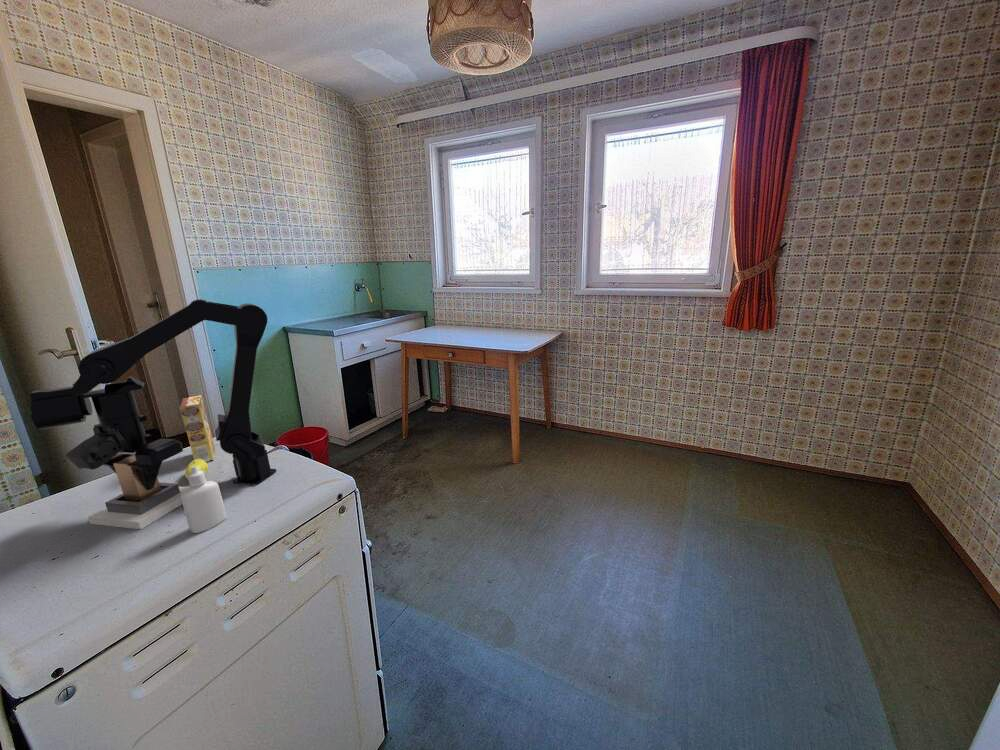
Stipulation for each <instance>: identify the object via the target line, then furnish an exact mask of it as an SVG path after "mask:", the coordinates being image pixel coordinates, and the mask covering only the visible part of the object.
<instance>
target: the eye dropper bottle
mask: <svg viewBox="0 0 1000 750" xmlns="http://www.w3.org/2000/svg"><path fill="white" fill-rule="evenodd" d="M187 477H188V479H187V481H188V483H189V486H188V487H189V488H188V489H186V490H185V491H184V492H183V493H182V495H181V499H182V503H183V504H182V505H183V506H182V507H183V510H184V514H185V517H186V521H187V524H188V529H189V531H191V532H192V533H193V534H199V533H203V532H205V531H208V530H210V529H212V528H214V527H216V526H218V525H220V524H221V523H223V522H224V521H225V520H226V519H227V513H226V509H225V505H224V501H223V497H222V494H221V490H220V486H219V483H217V482H216V481H214V480H207V479H206V476H205V474H204V471H199V470H198V469H197V467H196V466H193V467H191V473H190V474H189V475H188V476H187Z"/></svg>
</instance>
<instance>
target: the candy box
mask: <svg viewBox="0 0 1000 750" xmlns="http://www.w3.org/2000/svg"><path fill="white" fill-rule="evenodd" d="M179 411H180V413H181V418H182V421H183V426H184V428H185V431H186V435H187V439H188V442H189V445H190V449H191V453H192V456H193V460H195V459H202V460H204V461H209V462H211V461H210V460H213V461H214V460H215V456H214V455H215V452H216V447H215V443H214V440H213V436H212V432H211V428H210V424H209V420H208V417H207V412H206V409H205V405H204V401H203V397H202V395H195V396H189V397H183V398H182V401H181V403H180V406H179Z"/></svg>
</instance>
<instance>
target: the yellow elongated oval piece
mask: <svg viewBox="0 0 1000 750" xmlns="http://www.w3.org/2000/svg"><path fill="white" fill-rule="evenodd" d="M193 466H196V467H197V469H198V470H199V471H204V475H205V474H206V473H207V472H208V470H209V465H208V462H205V461H204V460H202V459H195V460H194V459H193V460H192V461H191V462H189V464H188V465H187V467H186V469H185V473H184V476H185V478H186V479H187V480H188V477H187V476H188V475H189V474H190V473H191V467H193Z"/></svg>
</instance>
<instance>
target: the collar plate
mask: <svg viewBox="0 0 1000 750" xmlns="http://www.w3.org/2000/svg"><path fill="white" fill-rule="evenodd" d="M159 484H160V487H161V491H159V492H158V493H156V494H154V495H152V496H150V497H148V498H147V499H145V500H143V501H141V502H129V501H125V498H124V495H123V493H121V494H119V495H117V496H115V497H113V498H111V499H110V500H108V501H105V502H104V504H105V507H104V508H103V509H101V510H99V511H98V512H94V514H91V515H89V516H88V520H89V524H90V525H97V526H99V525H100V526H108V527H118V528H119V527H120V528H125V529H127V528H128V529H133V530H135V529H136V530H142V529H144V528H145V527H147V526H148V525H150V524H152V523H154V522H155V521H157V520H158V519H160V518H162V517H163V516H165V515H167V514H169V513H170V512H172V511H173V510H175V509H177V508H178V507H180V506H181V505H183V503H182V499H181V495H182V493H183V492H184V491H185V490H186V489H188V488H189V487H190V486H188V487H187V486H179V484H178V483H169V482H159Z"/></svg>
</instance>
